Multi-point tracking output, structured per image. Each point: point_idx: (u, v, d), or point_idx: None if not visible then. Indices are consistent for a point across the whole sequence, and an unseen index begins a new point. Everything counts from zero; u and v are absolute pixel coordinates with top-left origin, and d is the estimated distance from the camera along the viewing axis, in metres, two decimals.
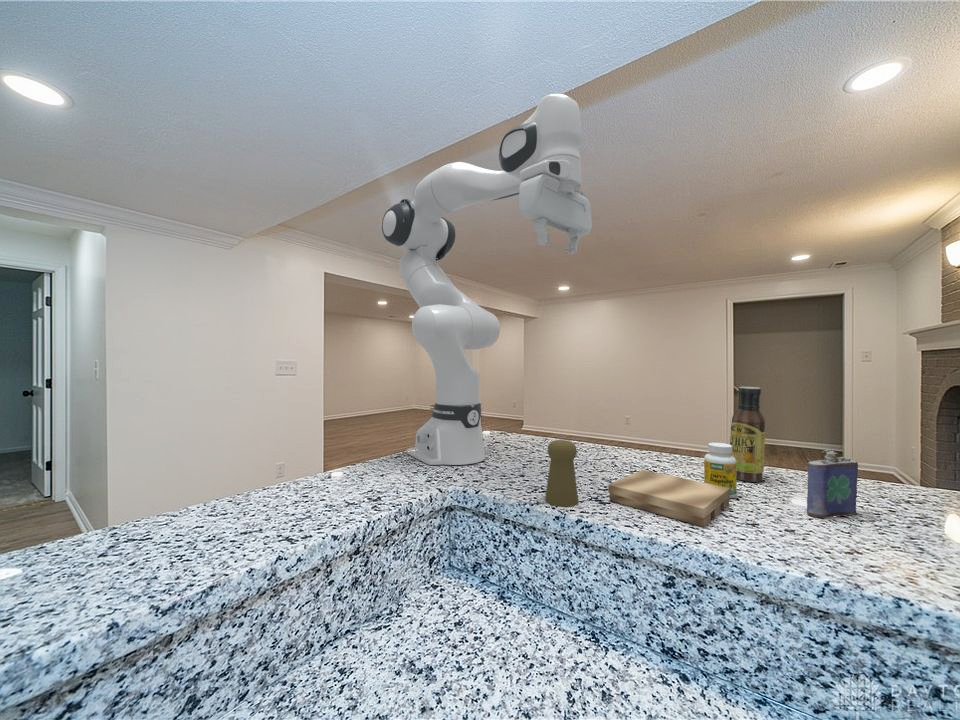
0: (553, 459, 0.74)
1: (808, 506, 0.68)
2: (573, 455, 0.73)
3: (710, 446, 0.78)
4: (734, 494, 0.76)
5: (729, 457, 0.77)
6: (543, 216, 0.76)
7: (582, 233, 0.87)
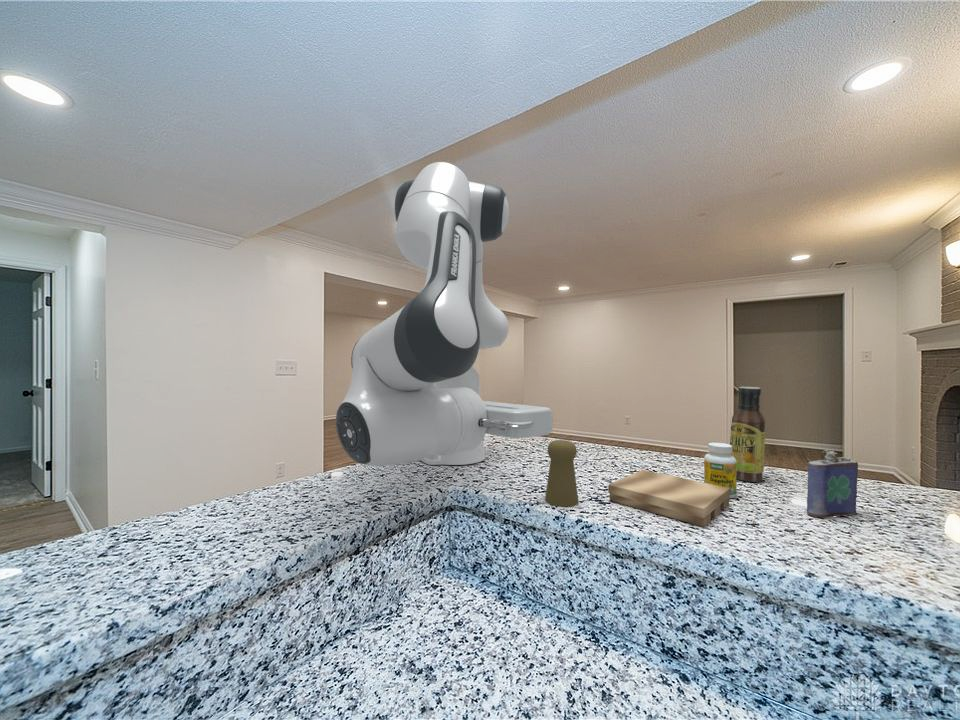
0: (553, 459, 0.74)
1: (808, 506, 0.68)
2: (573, 455, 0.73)
3: (710, 446, 0.78)
4: (734, 494, 0.76)
5: (729, 457, 0.77)
6: None
7: None
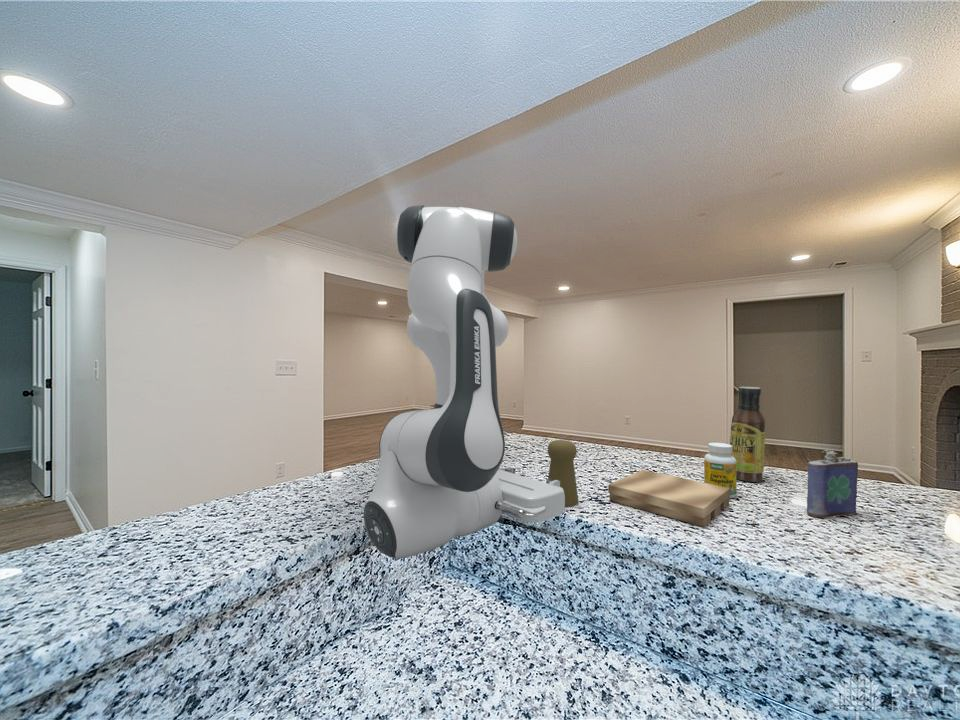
0: (553, 459, 0.74)
1: (808, 506, 0.68)
2: (573, 455, 0.73)
3: (710, 446, 0.78)
4: (734, 494, 0.76)
5: (729, 457, 0.77)
6: None
7: None
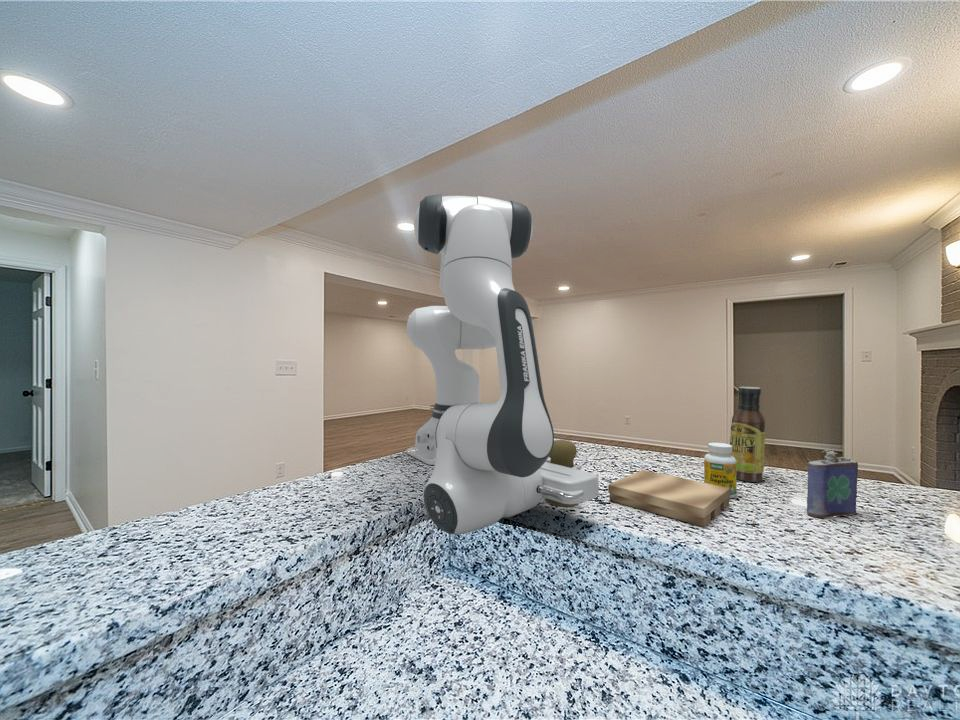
0: (553, 459, 0.74)
1: (808, 506, 0.68)
2: (573, 455, 0.73)
3: (710, 446, 0.78)
4: (734, 494, 0.76)
5: (729, 457, 0.77)
6: None
7: None
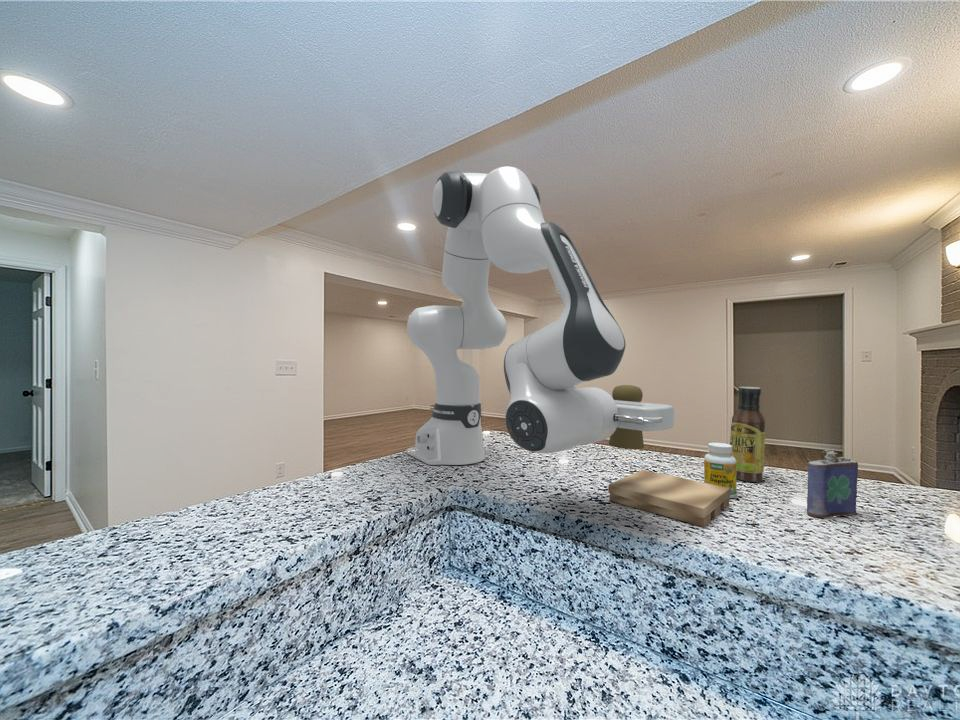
0: None
1: (808, 506, 0.68)
2: (640, 398, 0.72)
3: (710, 446, 0.78)
4: (734, 494, 0.76)
5: (729, 457, 0.77)
6: None
7: None
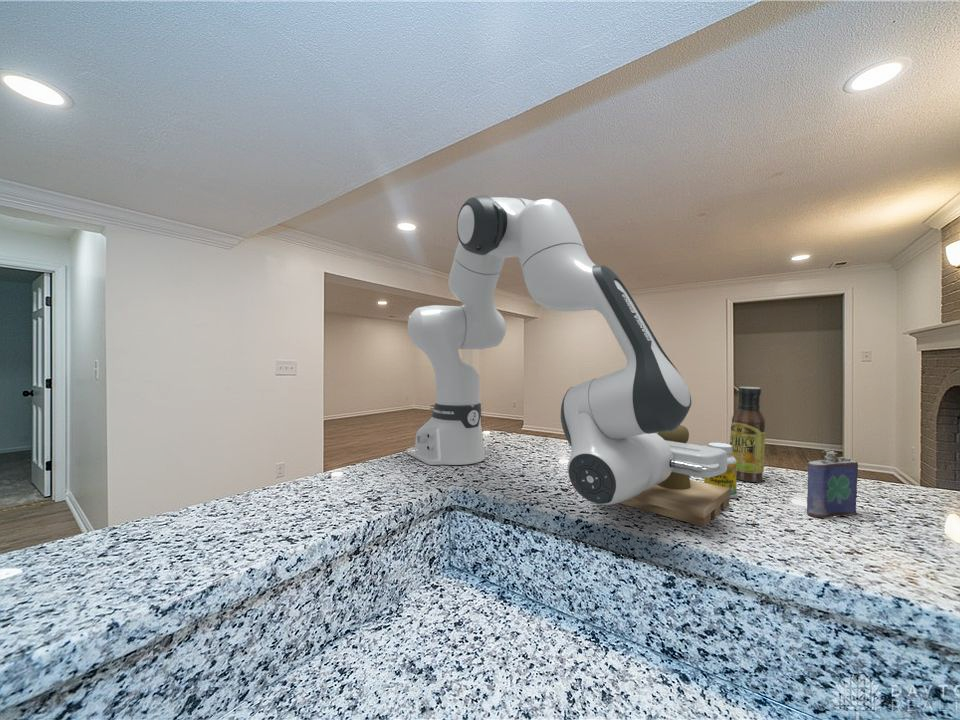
0: None
1: (808, 506, 0.68)
2: (687, 438, 0.73)
3: (710, 446, 0.78)
4: (734, 494, 0.76)
5: (729, 457, 0.77)
6: None
7: None
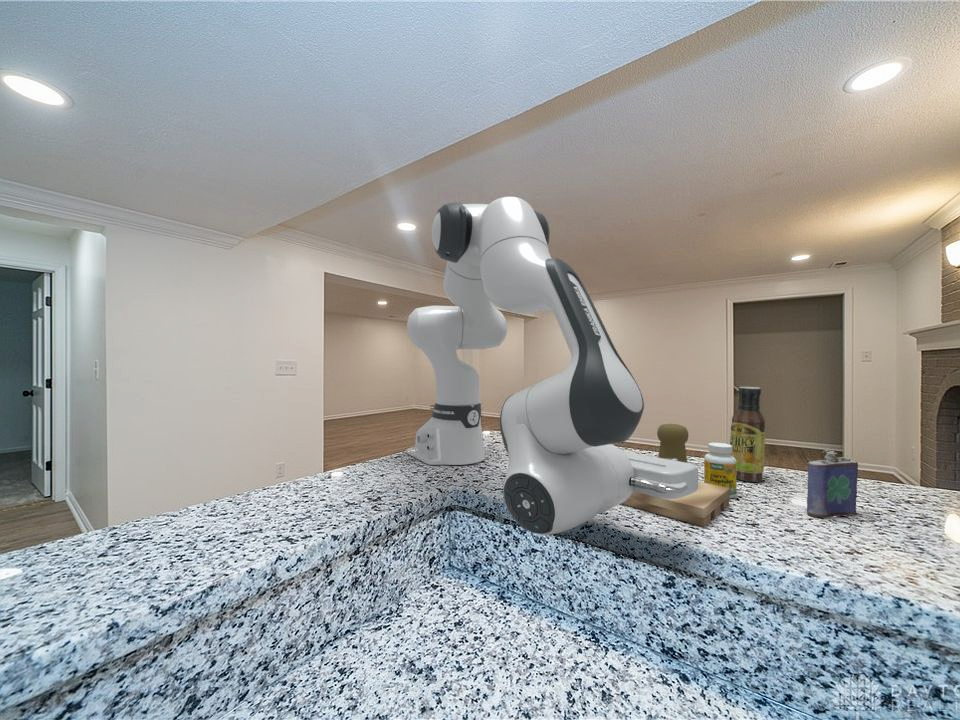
0: (665, 443, 0.74)
1: (808, 506, 0.68)
2: (686, 438, 0.73)
3: (710, 446, 0.78)
4: (734, 494, 0.76)
5: (729, 457, 0.76)
6: None
7: None
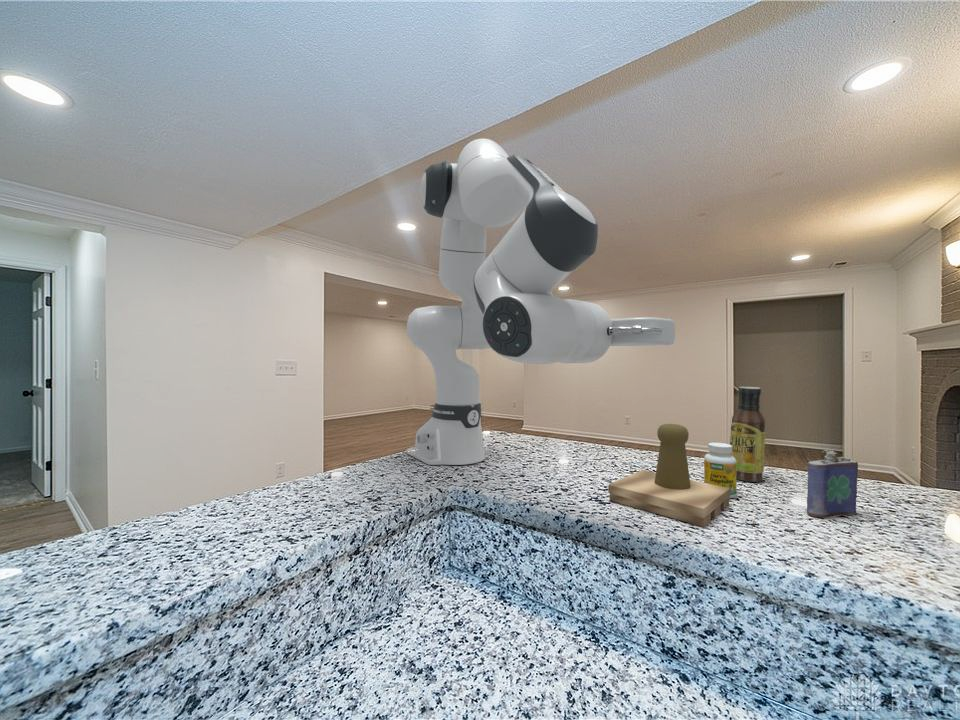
0: (665, 443, 0.74)
1: (808, 506, 0.68)
2: (687, 438, 0.73)
3: (710, 446, 0.78)
4: (734, 494, 0.76)
5: (729, 457, 0.77)
6: None
7: None
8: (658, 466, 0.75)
